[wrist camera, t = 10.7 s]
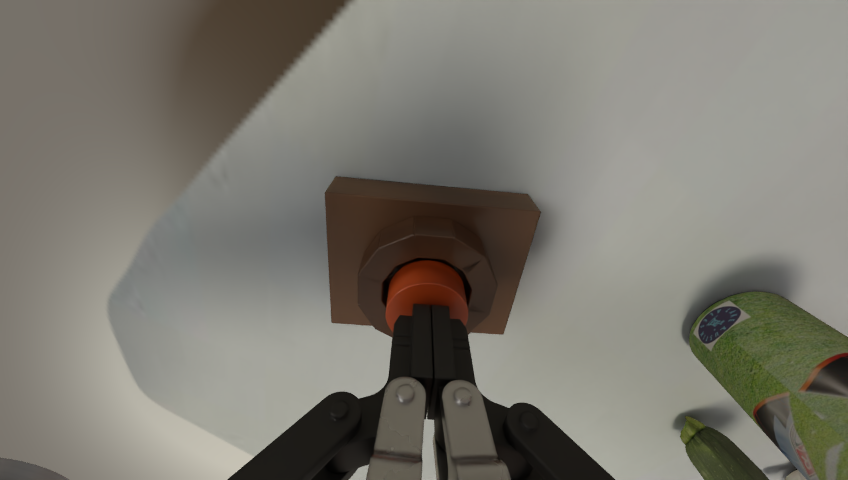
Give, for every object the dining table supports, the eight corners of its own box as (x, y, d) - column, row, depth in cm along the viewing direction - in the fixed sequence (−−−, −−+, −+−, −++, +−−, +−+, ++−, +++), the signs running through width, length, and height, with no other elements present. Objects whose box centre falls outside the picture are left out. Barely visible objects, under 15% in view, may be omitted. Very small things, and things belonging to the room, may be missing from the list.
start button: (387, 316, 17) (383, 343, 15) (390, 256, 15) (387, 280, 13) (457, 321, 17) (461, 348, 15) (469, 262, 15) (475, 286, 14)
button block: (339, 298, 21) (323, 348, 17) (335, 175, 17) (312, 209, 13) (496, 309, 21) (511, 360, 18) (528, 193, 17) (555, 230, 14)
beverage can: (710, 362, 24) (932, 602, 14) (648, 319, 22) (856, 565, 11) (800, 308, 21) (1157, 552, 11) (740, 253, 19) (1114, 492, 9)
